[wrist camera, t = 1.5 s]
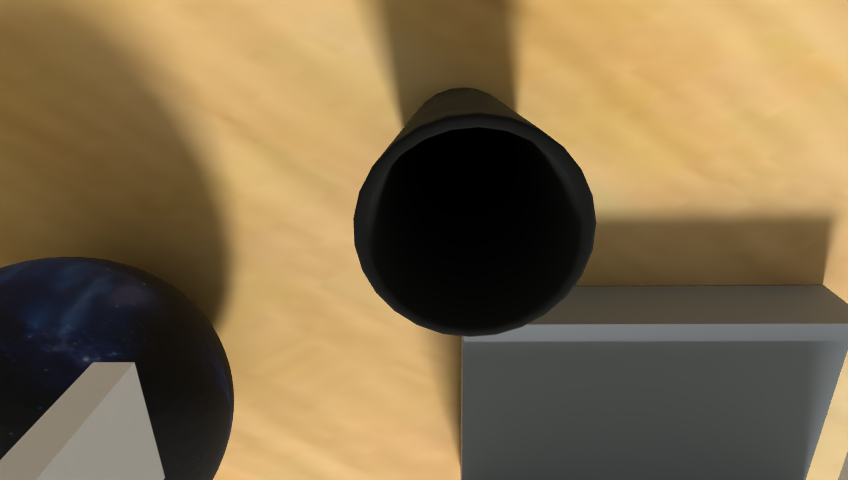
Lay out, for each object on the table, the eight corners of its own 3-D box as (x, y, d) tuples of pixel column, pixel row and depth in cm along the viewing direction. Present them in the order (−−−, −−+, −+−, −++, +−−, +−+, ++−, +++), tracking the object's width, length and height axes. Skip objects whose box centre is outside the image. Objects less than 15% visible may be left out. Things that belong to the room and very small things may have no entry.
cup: (560, 175, 30) (630, 285, 19) (429, 236, 31) (422, 369, 20) (499, 36, 27) (538, 66, 16) (359, 109, 29) (307, 183, 18)
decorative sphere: (238, 201, 31) (72, 371, 17) (289, 421, 37) (197, 680, 23) (-28, 222, 32) (-388, 399, 18) (64, 433, 38) (-154, 688, 24)
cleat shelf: (461, 287, 32) (473, 481, 20) (823, 284, 32) (1083, 485, 19) (460, 467, 38) (469, 713, 25) (770, 469, 37) (943, 723, 24)
